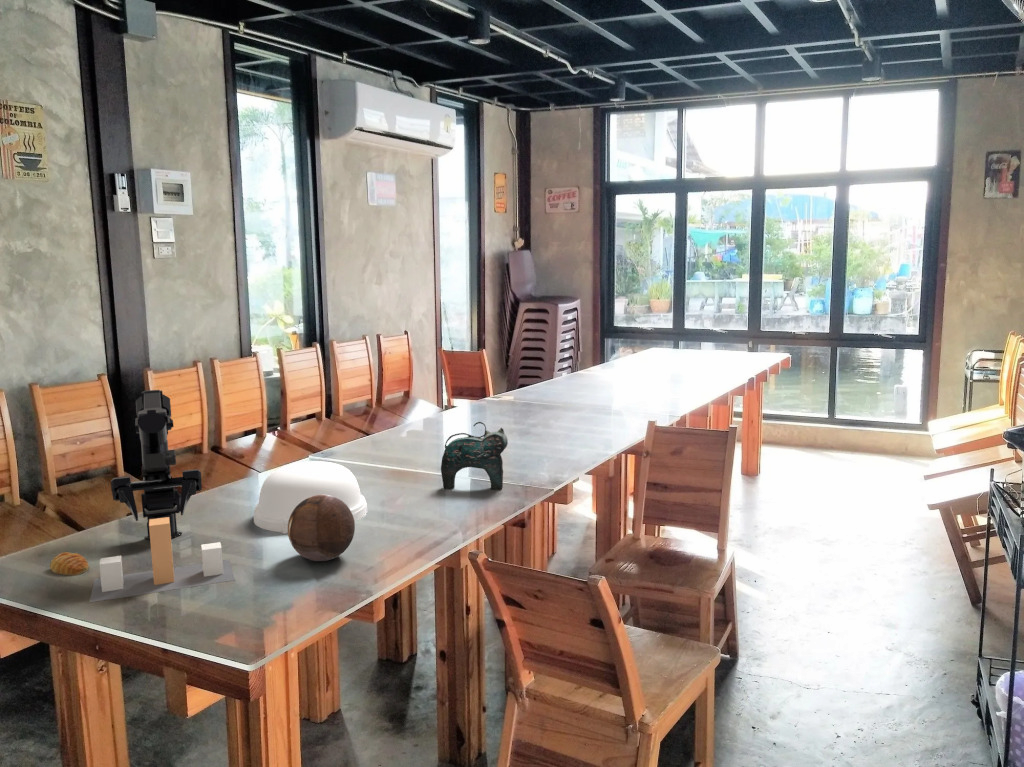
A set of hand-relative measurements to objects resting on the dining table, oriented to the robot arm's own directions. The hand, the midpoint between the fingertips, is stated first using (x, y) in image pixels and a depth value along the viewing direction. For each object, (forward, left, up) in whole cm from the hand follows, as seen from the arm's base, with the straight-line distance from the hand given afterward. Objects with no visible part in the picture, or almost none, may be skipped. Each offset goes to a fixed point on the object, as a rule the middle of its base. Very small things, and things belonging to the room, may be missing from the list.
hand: (159, 517), depth 189 cm
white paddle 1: (+12, -3, -12) cm, 17 cm away
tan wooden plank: (+5, +5, -12) cm, 14 cm away
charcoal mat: (+5, +5, -13) cm, 14 cm away
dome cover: (-47, +6, -13) cm, 49 cm away
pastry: (+6, -21, -13) cm, 25 cm away
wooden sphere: (-19, +29, -13) cm, 37 cm away
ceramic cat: (-86, +36, -13) cm, 94 cm away
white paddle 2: (-3, +12, -12) cm, 17 cm away
